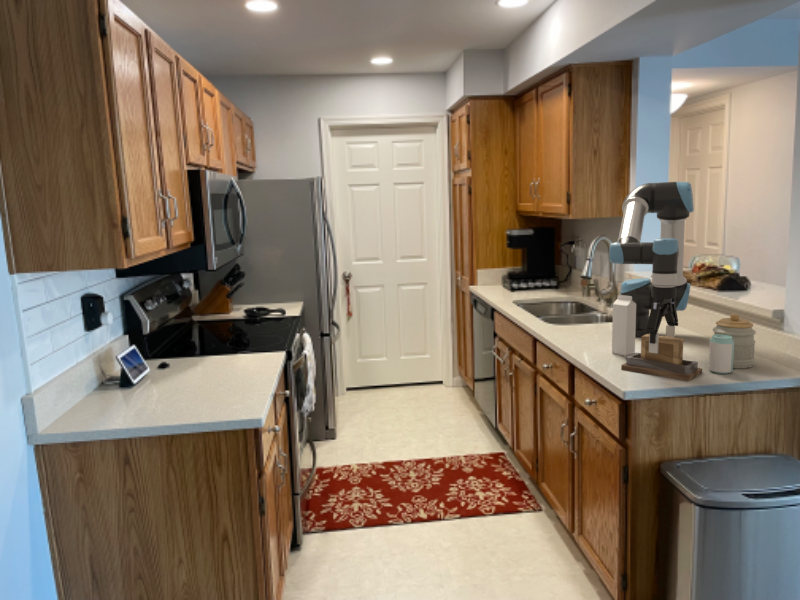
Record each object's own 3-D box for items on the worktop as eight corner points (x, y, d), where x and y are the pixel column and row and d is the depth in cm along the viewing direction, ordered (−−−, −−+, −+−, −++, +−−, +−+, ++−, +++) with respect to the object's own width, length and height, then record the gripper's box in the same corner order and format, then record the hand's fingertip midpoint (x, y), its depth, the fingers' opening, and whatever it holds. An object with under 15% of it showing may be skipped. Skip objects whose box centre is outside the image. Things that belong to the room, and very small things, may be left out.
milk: (625, 356, 219) (627, 297, 215) (611, 353, 224) (612, 295, 220) (635, 353, 223) (636, 295, 219) (620, 350, 228) (622, 293, 224)
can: (704, 371, 197) (706, 336, 195) (714, 367, 201) (716, 332, 199) (726, 376, 191) (728, 339, 189) (736, 371, 195) (738, 336, 193)
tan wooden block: (646, 362, 205) (646, 334, 203) (682, 368, 196) (683, 338, 195) (640, 365, 201) (641, 336, 200) (676, 371, 193) (678, 341, 191)
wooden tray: (636, 361, 211) (636, 351, 210) (702, 372, 195) (702, 361, 195) (621, 369, 202) (621, 358, 202) (688, 381, 187) (689, 369, 186)
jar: (763, 366, 200) (766, 315, 197) (732, 370, 196) (735, 318, 193) (731, 357, 212) (734, 309, 209) (702, 361, 209) (704, 312, 206)
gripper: (667, 280, 205) (665, 340, 209) (636, 289, 188) (634, 354, 192) (690, 281, 200) (687, 343, 204) (660, 291, 183) (657, 358, 186)
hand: (661, 348), depth 198 cm, fingers open, 13 cm apart
